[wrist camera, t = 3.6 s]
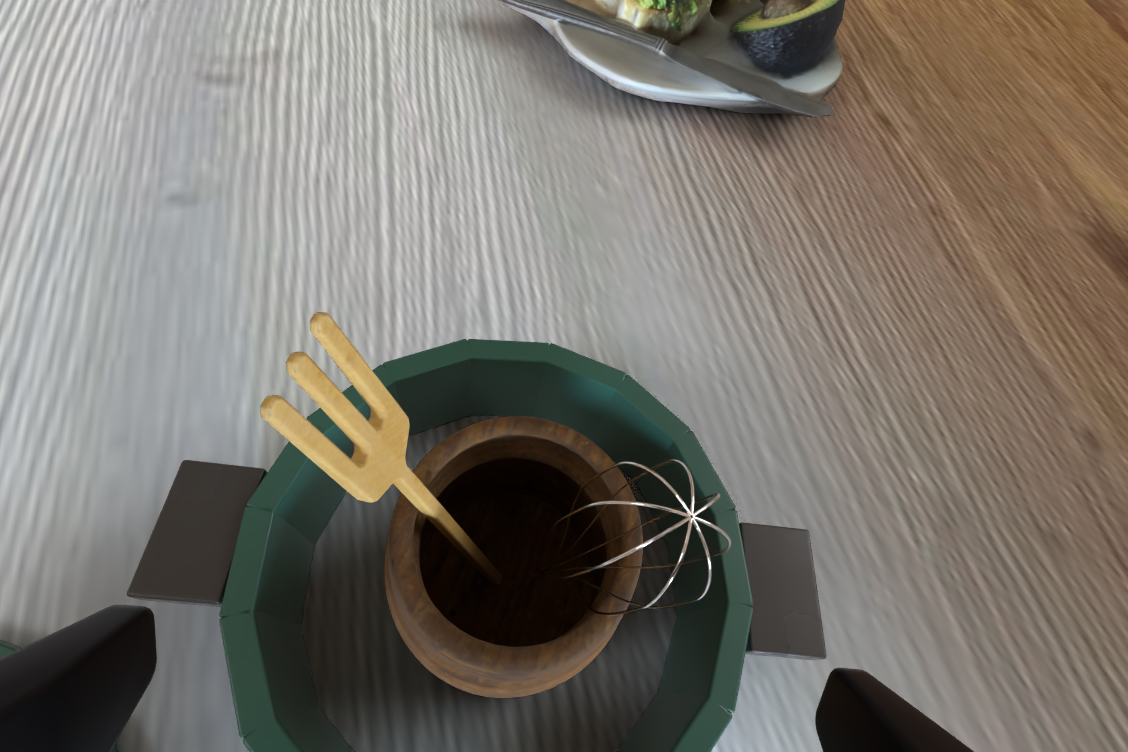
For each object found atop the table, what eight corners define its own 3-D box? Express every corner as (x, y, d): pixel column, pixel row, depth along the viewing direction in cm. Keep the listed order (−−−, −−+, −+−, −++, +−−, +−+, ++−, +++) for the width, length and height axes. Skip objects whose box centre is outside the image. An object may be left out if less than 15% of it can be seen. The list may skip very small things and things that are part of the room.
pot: (520, 1034, 13) (539, 1169, 9) (157, 560, 16) (71, 527, 13) (798, 600, 18) (876, 581, 15) (485, 316, 22) (489, 246, 18)
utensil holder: (575, 719, 16) (786, 803, 5) (358, 658, 16) (133, 619, 5) (615, 517, 19) (803, 309, 8) (432, 464, 19) (386, 187, 8)
